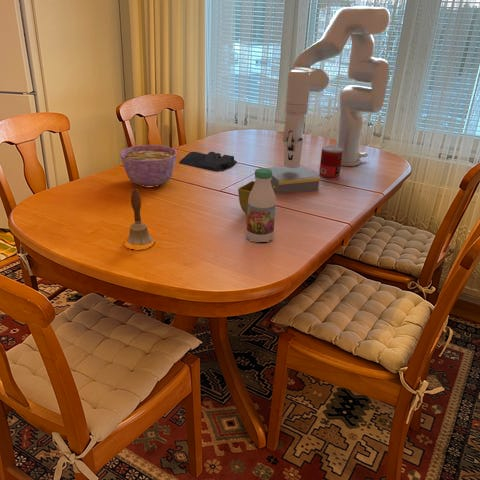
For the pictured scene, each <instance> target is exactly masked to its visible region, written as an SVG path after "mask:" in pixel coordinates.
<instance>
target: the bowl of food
mask: <svg viewBox="0 0 480 480" xmlns="http://www.w3.org/2000/svg"><path fill="white" fill-rule="evenodd" d="M119 155H120V159H121V162H122V166H123V168H124V171H125V173H126V176H127V177H128V179H129V180H130V181H131V182H133V183H134V184H136V185H139V186H141V185H144V186H156V185H160V184H161V185H163V184H165V183H167V182H169V180H171V178H172V177H173V173H174V170H175V165H176V160H177V155H178V151H177V150H176V149H175V148H172V147H170V146H167V145H160V144H159V145H158V144H157V145H156V144H144V145H143V144H142V145H134V146H129V147H127V148H124V149H123V150H121V151H120V152H119ZM161 185H160V186H161Z"/></svg>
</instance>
